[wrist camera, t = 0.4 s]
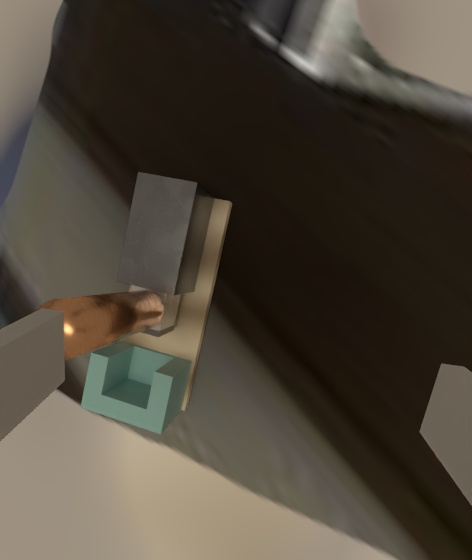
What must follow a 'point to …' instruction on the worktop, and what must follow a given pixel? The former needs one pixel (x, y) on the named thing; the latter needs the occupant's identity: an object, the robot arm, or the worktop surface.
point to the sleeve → (165, 234)
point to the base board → (193, 301)
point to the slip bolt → (113, 317)
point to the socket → (136, 385)
